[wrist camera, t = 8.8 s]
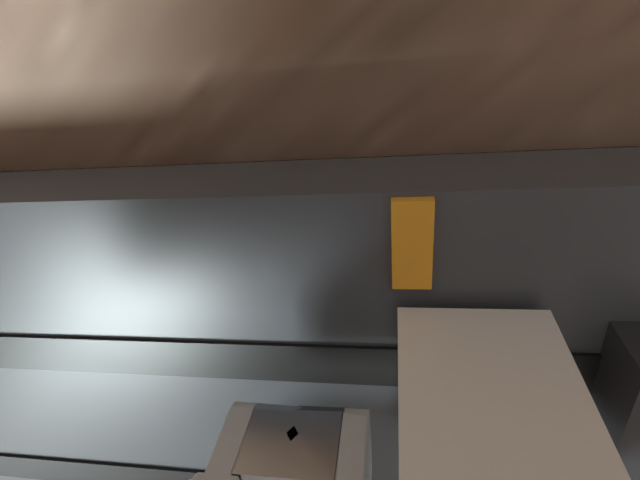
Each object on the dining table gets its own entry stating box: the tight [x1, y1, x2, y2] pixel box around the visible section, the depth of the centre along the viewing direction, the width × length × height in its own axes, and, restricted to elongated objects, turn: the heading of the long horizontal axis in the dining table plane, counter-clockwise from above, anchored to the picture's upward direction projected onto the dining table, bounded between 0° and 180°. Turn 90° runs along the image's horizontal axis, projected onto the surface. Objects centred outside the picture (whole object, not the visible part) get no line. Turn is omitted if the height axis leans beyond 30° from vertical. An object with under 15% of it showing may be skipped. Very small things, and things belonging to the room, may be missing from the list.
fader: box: [397, 307, 631, 480], centre depth 8 cm, size 4×3×4 cm
